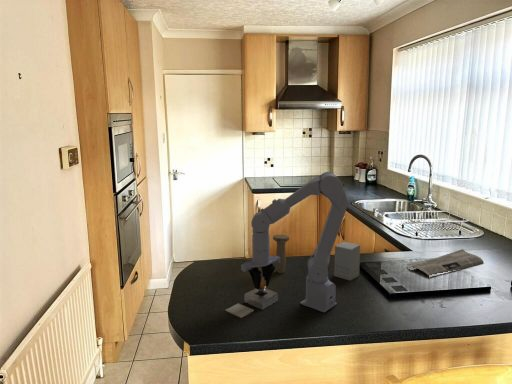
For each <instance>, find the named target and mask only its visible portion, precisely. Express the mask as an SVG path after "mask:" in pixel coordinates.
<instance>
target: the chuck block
mask: <svg viewBox="0 0 512 384" xmlns="http://www.w3.org/2000/svg"><path fill="white" fill-rule="evenodd" d="M243 297H244V303H246V304H247V303H248V304H247V305H250V306H253V307H255V308H257V309H260V310H265V309H266V308H268V307H270V306H272V305H273V303H274V304H275V303H277V302H278V299H279V293H278V292H276V291H273V290H271V289H269V288H267V287H266V288H265V295H264V296H259V295H258V289H256V288H254V289H252V290H250V291H248V292H246V293H244V296H243Z"/></svg>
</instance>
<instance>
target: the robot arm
mask: <svg viewBox="0 0 512 384" xmlns="http://www.w3.org/2000/svg"><path fill="white" fill-rule="evenodd" d="M321 193H322V194H323V195H325V197H327V198H328V200H329V202H330V203H331V204H330V207H329V210H328V214H327V216H326V220H325V222H324V226H323V227H322V231H321V233H320V236H319V239H318V242H317V245H316V248H314V251H313V254H312V255H311V256H310V257H309V258H308V260H307V261H306V265H307V270H308V271H307V275H306V276H305V299H304V300H301V302H299V304H301V305H302V306H305V307H308V308H311V309H312V310H315V311H316V310H317V311H319V312H321V313H326V312H328V311H329V310H330V309H332V308H333V307H335V306H336V305H337V304H338V303H337V302H336V296H337V295H336V294H337V286H336V284H335V283H334V282H332V281H331V280H330V279H329V270H328V268H329V265H330V257H331V254H332V251H333V249H334V245H335V242H336V239H337V236H338V233H339V231H340V228H341V226H342V222H343V219H344V217H345V215H346V212H347V208H348V205H349V201H348V198H347V195H346V192H345V187H344V185H343V184H342V182H341V180H340V178H338V177H337V176H336V174H335V173H333V172H331V171H325V172H323V173H321V174H320V175H319V176H316V177H314V178H312V179H311V180H309V181H308V182H307V183H305V184H304V185H302V186H301V187H300V188H298V189H297V190H296V191H294V192H293V193H292V194H290V195H289V196H288V197H285V198H277V199H276V198H274V199H272V203H270V204H269V205H268V206H266V207H265V208H264V207H262V208H261V209H260V211H258V212H256V213H254V215H253V217H252V220H251V228H252V231H251V232H252V237H251V241H252V249H251V250H252V259H251V260H250V261H247V262H244V263H243V264H240V271H242V272H244V273H245V272H247V271H248V273H249V275H250V277H251V279H252V283H253V287H254V289H259V288H260V276H261V274H264V275H265V279H266V288H268V287H269V284H270V281H271V277H272V275H273V273H274V271H275V270H276V266H275V265H273V264H276V263H280V257H278V256H276V255H275V256H270V254H271V252H270V251H271V250H270V248H271V247H270V244H271V243H270V238H271V237H270V231H269V230H270V225H274V224H275V223H277V222H278V221H281V220H282V219H283V218H284V217H286V216H287V215H289V214H290V212H291V208H292V207H294V206H295V205H297V204H299V203H300V202H302V201H304V200H306V199H307V198H309V197H310V196H321ZM259 268H261V270H260V269H259Z"/></svg>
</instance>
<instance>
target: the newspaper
mask: <svg viewBox="0 0 512 384" xmlns="http://www.w3.org/2000/svg"><path fill="white" fill-rule="evenodd" d="M483 264H484V260H483V258H481V257H480V256H478V255H475V254H473V253H470V252H468V251H465V249H463V248H461V249H459V250H455V251H453V252H450V253H447V254H444V255H441V256H440V255H439V256H438V257H434V258H429V259H424V260H420V261H416V262H411V263H407V264H406V266H408V267H413V268H416V269H419V270H420V271H421V272H423V273H425V274H426V275H427V276H428V275H432V274H437V273H443V272H448V271H453V270H458V269H461V270H464V269H468V268H472V267H475V266H479V265H483ZM458 271H459V270H458Z"/></svg>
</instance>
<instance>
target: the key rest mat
mask: <svg viewBox="0 0 512 384" xmlns="http://www.w3.org/2000/svg"><path fill="white" fill-rule="evenodd" d="M254 311H255V310H254V309H253V308H250V307H248V306H246V305H243V304H241V303H238V302H237V303H236V304H234V305H232V306H231V307H229V308H226V309H225V312H227V313H229V314H232V315H233V316H235V317H238V318H240V319H242V318H244V317H246V316H247V315H249V314H252V313H253V312H254Z"/></svg>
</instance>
